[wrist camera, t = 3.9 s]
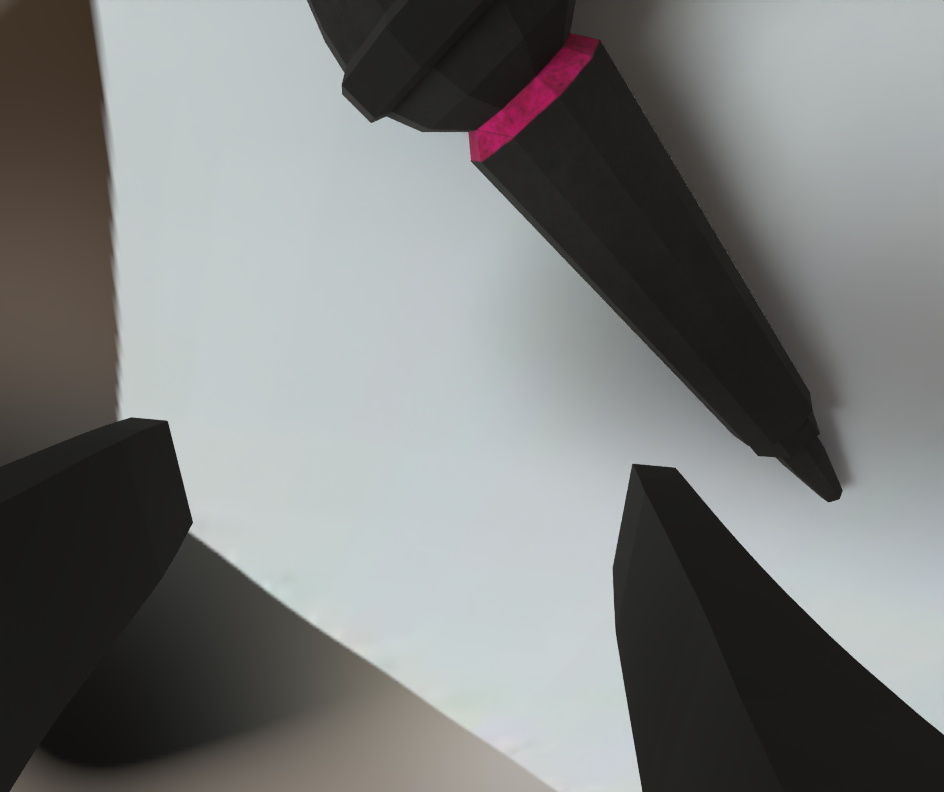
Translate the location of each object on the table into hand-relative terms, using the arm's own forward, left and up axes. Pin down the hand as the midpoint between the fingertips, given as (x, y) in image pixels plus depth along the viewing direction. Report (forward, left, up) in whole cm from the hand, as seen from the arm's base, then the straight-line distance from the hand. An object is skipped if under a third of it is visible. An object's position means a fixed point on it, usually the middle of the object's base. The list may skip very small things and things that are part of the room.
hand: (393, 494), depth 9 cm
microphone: (+2, -4, -10) cm, 10 cm away
